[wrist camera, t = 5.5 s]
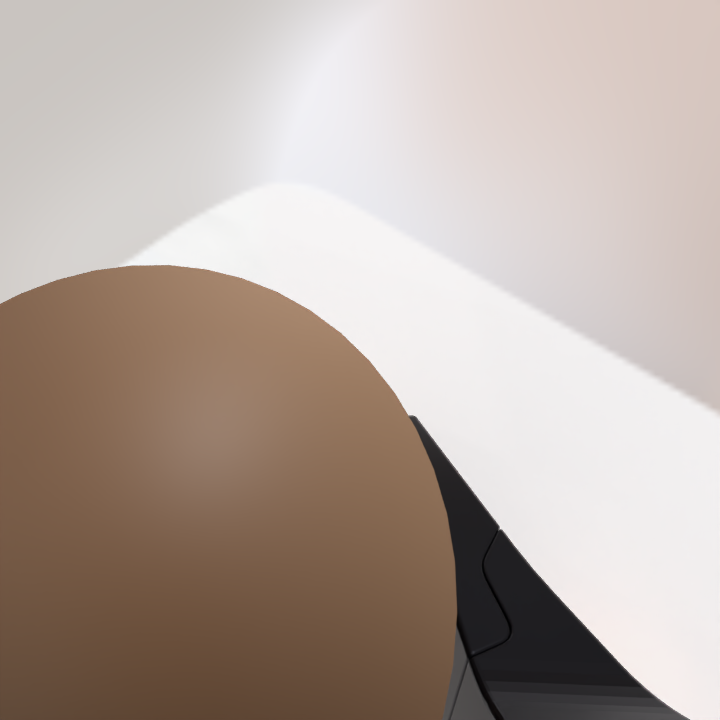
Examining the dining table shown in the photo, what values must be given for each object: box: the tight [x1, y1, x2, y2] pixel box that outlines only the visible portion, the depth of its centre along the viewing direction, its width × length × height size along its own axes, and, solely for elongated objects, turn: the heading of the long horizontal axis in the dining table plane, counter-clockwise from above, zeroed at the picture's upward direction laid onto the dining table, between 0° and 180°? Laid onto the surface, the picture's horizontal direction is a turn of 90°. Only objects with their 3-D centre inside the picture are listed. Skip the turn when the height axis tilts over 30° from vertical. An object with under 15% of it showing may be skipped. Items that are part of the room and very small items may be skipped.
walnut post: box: [0, 265, 457, 720], centre depth 9 cm, size 5×5×13 cm
